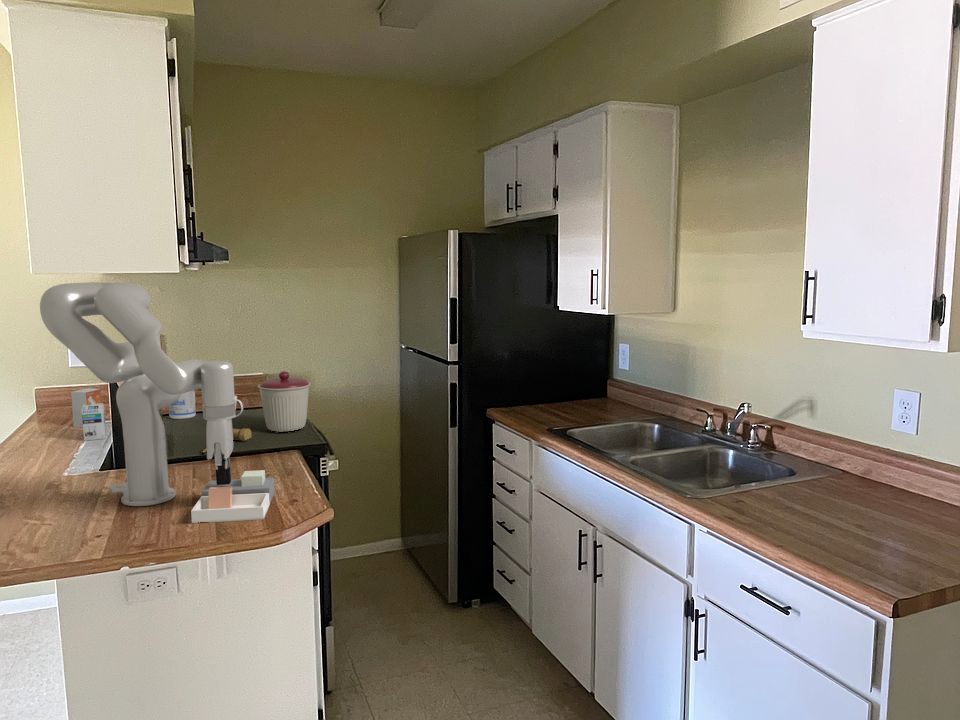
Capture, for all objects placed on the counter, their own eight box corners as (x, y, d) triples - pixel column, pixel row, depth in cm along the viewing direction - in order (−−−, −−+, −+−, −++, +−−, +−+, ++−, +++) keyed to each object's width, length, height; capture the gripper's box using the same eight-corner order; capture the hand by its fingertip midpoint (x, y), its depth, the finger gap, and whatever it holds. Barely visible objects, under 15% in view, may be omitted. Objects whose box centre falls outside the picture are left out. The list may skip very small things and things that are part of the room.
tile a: (210, 507, 174) (208, 510, 172) (210, 487, 174) (208, 489, 172) (232, 507, 175) (230, 509, 173) (232, 486, 175) (230, 488, 173)
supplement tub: (166, 420, 273) (164, 381, 271) (172, 414, 282) (170, 377, 280) (193, 419, 275) (191, 381, 273) (198, 413, 284) (196, 377, 282)
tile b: (241, 486, 179) (241, 476, 179) (245, 480, 184) (244, 471, 184) (262, 485, 180) (262, 475, 180) (265, 479, 185) (264, 470, 185)
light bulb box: (105, 439, 244) (103, 408, 243) (83, 441, 241) (80, 409, 240) (106, 432, 254) (104, 402, 252) (84, 434, 251) (82, 404, 250)
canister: (289, 438, 245) (286, 376, 242) (248, 432, 252) (245, 373, 250) (322, 426, 261) (320, 369, 258) (283, 422, 269) (281, 366, 266)
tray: (191, 523, 165) (191, 510, 165) (202, 508, 176) (201, 496, 175) (263, 519, 168) (263, 507, 167) (269, 504, 178) (269, 492, 178)
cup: (227, 414, 282) (225, 394, 281) (248, 416, 279) (247, 395, 278) (215, 418, 276) (214, 397, 274) (237, 420, 272) (236, 399, 271)
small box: (88, 427, 261) (85, 392, 260) (73, 426, 262) (70, 391, 261) (104, 422, 269) (101, 388, 267) (89, 422, 270) (86, 387, 269)
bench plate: (202, 507, 176) (201, 491, 176) (210, 495, 185) (209, 480, 185) (270, 503, 179) (269, 488, 178) (274, 492, 187) (274, 477, 187)
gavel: (216, 446, 222) (187, 445, 225) (217, 460, 223) (189, 459, 226) (251, 427, 243) (224, 425, 245) (252, 440, 243) (225, 438, 246)
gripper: (209, 406, 183) (213, 475, 186) (196, 418, 169) (201, 494, 171) (240, 404, 184) (244, 474, 187) (230, 417, 170) (234, 492, 172)
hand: (223, 483), depth 179 cm, fingers closed
